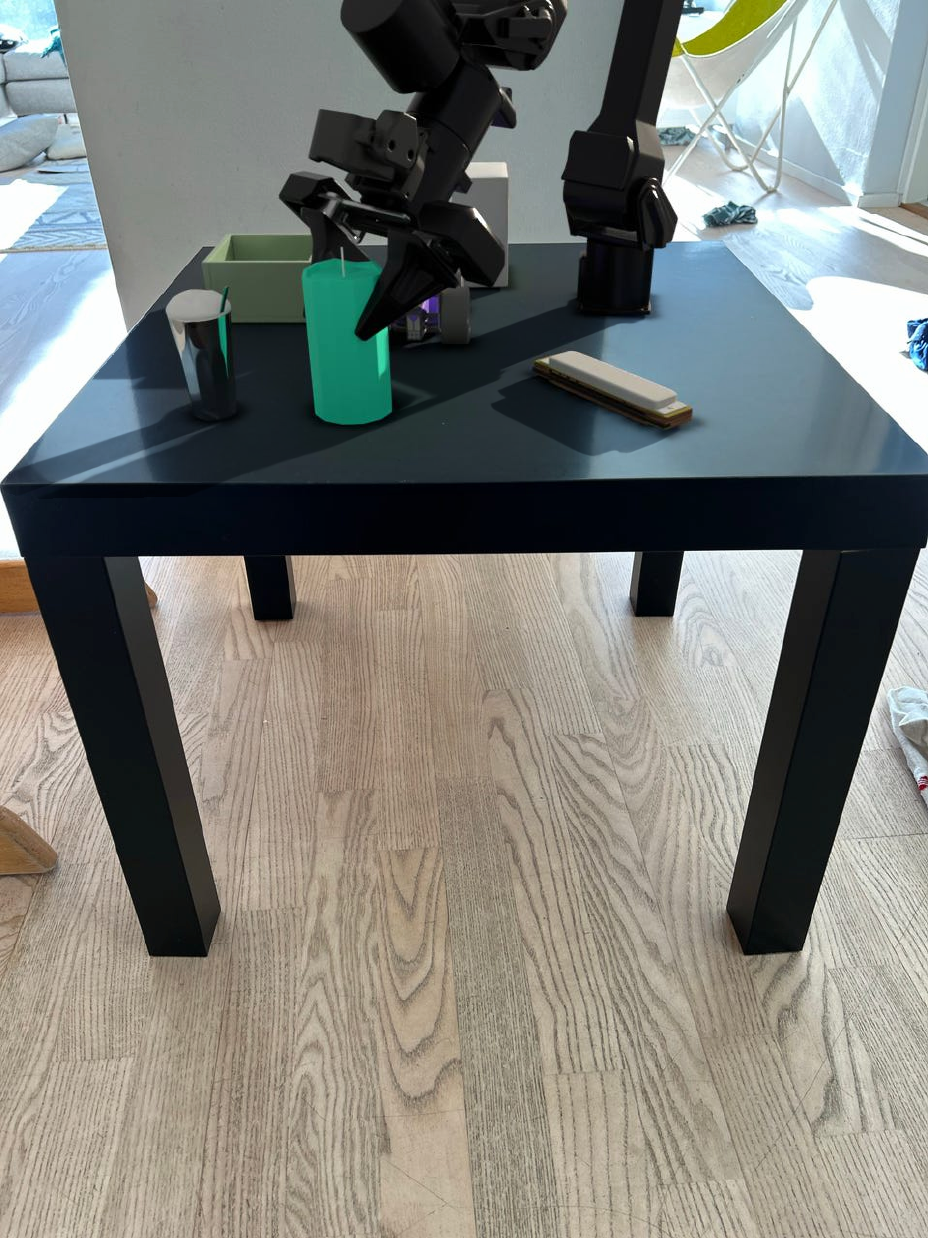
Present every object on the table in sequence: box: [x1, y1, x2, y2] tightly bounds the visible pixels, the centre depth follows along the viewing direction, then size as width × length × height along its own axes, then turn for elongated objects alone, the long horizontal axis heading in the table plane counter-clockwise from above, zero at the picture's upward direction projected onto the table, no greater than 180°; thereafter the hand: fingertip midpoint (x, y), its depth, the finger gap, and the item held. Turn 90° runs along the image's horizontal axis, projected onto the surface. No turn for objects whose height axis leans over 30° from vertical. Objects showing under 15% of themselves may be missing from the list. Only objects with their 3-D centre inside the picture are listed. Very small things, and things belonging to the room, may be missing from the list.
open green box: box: [201, 233, 313, 324], centre depth 96 cm, size 10×10×6 cm
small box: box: [451, 161, 510, 288], centre depth 101 cm, size 8×6×10 cm
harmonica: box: [531, 350, 694, 431], centre depth 77 cm, size 15×3×2 cm, turn 37°
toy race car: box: [388, 271, 471, 345], centre depth 91 cm, size 10×15×6 cm, turn 178°
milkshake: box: [165, 286, 238, 422], centre depth 73 cm, size 4×5×10 cm
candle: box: [302, 247, 393, 426], centre depth 73 cm, size 6×6×12 cm
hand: (332, 328), depth 72 cm, fingers closed on candle, 5 cm apart
